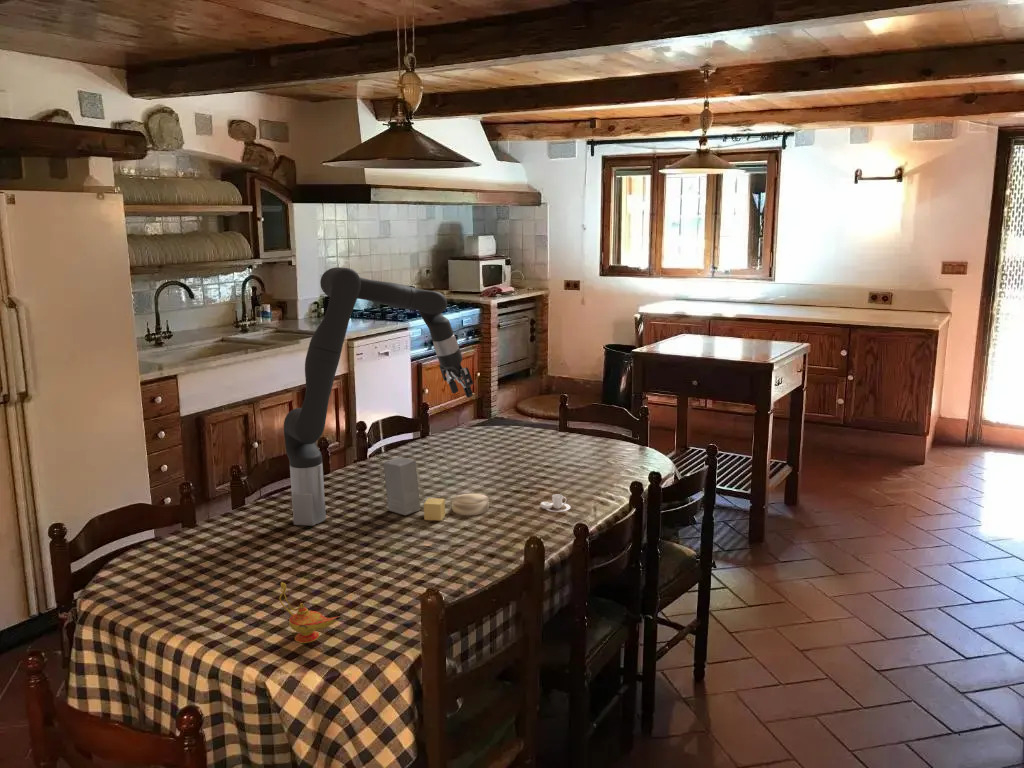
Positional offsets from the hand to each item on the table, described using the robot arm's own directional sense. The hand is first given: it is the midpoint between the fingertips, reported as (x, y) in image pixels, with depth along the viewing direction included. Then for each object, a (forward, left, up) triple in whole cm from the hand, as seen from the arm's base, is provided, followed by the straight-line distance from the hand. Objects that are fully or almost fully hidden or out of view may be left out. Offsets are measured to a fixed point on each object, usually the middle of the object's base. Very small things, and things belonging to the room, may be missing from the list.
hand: (462, 394), depth 268 cm
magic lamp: (-107, +9, -30) cm, 111 cm away
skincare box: (-30, +13, -30) cm, 44 cm away
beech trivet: (-26, -7, -30) cm, 40 cm away
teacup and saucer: (-19, -31, -30) cm, 48 cm away
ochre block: (-34, +2, -30) cm, 45 cm away
